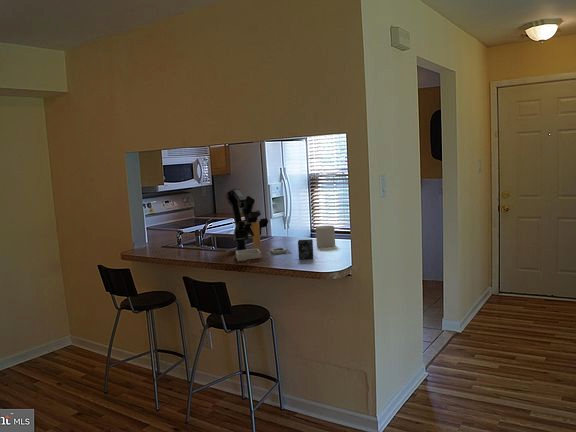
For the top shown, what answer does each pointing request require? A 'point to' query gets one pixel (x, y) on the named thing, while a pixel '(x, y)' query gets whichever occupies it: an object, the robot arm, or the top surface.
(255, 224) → the strut
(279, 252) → the socket mount
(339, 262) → the top surface
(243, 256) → the bin
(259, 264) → the top surface
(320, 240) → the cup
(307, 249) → the box
